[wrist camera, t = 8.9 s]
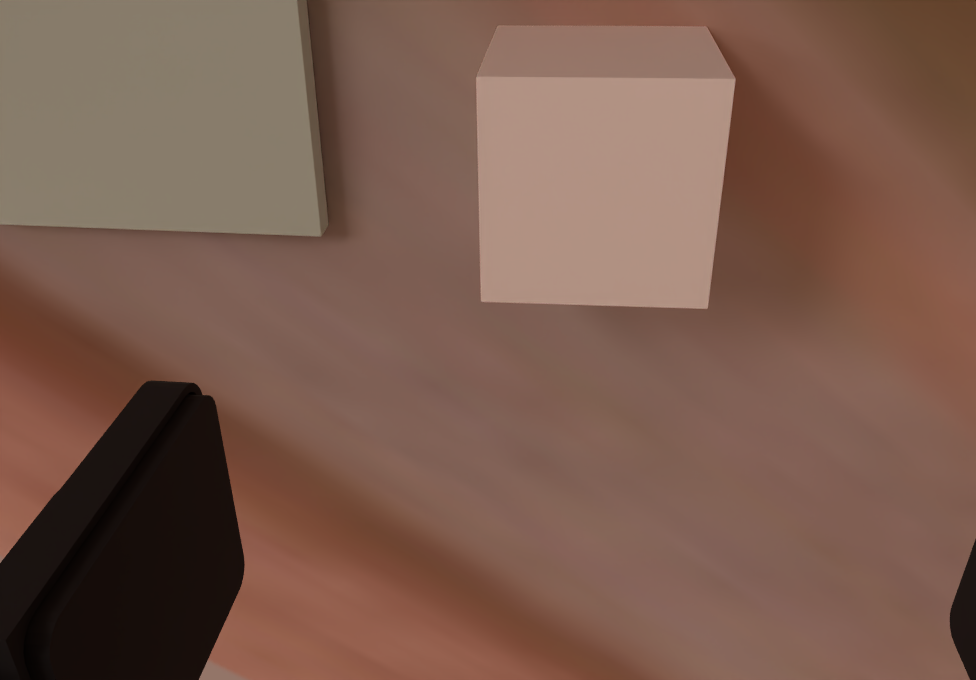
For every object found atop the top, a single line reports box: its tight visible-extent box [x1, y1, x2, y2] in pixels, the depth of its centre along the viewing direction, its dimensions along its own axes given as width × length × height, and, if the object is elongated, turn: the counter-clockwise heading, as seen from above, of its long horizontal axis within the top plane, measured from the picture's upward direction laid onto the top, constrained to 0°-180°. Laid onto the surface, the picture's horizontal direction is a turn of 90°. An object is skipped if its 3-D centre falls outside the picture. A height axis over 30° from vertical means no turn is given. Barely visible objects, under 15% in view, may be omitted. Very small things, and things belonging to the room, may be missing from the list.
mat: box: [0, 0, 329, 237], centre depth 23 cm, size 10×10×1 cm
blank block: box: [476, 25, 736, 309], centre depth 21 cm, size 5×5×5 cm
